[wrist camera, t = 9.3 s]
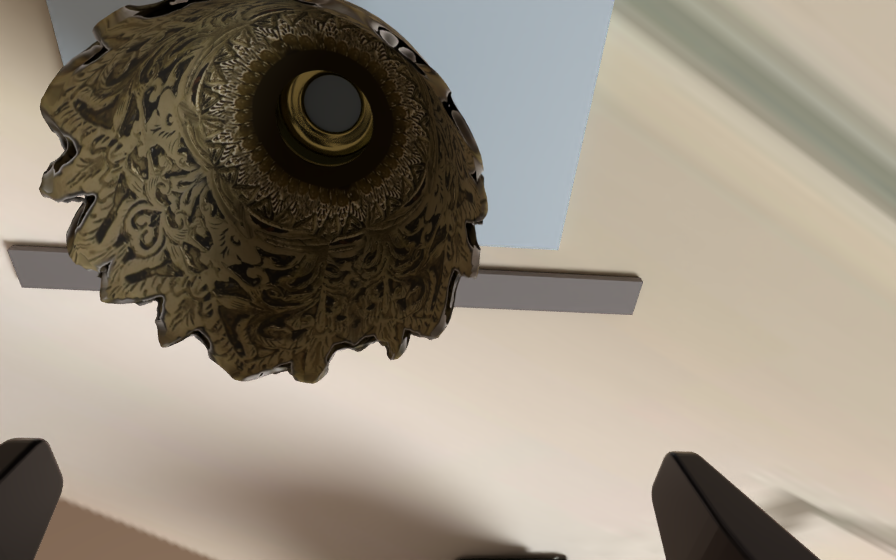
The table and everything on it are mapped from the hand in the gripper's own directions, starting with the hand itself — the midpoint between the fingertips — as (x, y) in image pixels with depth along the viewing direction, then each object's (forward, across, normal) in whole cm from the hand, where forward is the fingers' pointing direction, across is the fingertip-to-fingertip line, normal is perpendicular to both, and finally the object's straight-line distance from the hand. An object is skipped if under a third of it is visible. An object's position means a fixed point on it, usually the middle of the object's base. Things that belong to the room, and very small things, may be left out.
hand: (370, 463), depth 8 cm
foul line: (+12, +2, +4) cm, 12 cm away
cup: (+11, +2, -2) cm, 12 cm away
